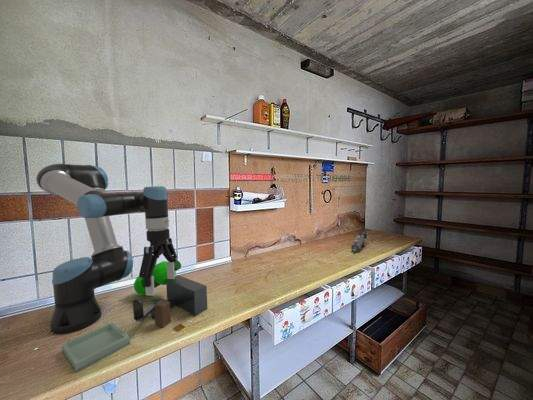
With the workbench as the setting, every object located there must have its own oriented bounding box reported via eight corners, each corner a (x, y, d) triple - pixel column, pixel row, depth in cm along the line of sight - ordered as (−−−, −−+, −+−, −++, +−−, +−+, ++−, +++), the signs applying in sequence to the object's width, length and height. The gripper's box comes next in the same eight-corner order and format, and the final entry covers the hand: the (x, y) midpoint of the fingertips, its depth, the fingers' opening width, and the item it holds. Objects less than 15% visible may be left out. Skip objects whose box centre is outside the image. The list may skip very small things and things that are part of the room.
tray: (62, 351, 72) (61, 344, 72) (112, 328, 83) (112, 322, 83) (76, 372, 64) (75, 364, 64) (130, 343, 75) (129, 336, 75)
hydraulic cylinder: (368, 240, 192) (368, 228, 190) (359, 259, 162) (358, 246, 160) (359, 239, 196) (358, 228, 194) (348, 257, 166) (347, 244, 164)
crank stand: (143, 312, 93) (141, 288, 93) (179, 296, 107) (178, 275, 106) (175, 333, 80) (173, 305, 79) (212, 311, 93) (211, 287, 92)
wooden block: (163, 328, 83) (161, 306, 82) (154, 325, 84) (153, 304, 84) (171, 321, 87) (170, 301, 86) (163, 319, 88) (162, 299, 88)
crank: (155, 301, 94) (154, 283, 93) (166, 301, 93) (165, 284, 93) (129, 323, 79) (128, 302, 78) (143, 324, 78) (141, 303, 78)
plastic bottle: (151, 283, 116) (188, 261, 110) (144, 302, 108) (183, 280, 102) (134, 273, 111) (172, 250, 105) (125, 292, 103) (165, 268, 97)
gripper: (145, 236, 70) (150, 303, 72) (183, 223, 95) (186, 273, 96) (123, 236, 71) (128, 303, 72) (166, 223, 96) (169, 273, 97)
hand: (161, 286), depth 84 cm, fingers open, 13 cm apart
